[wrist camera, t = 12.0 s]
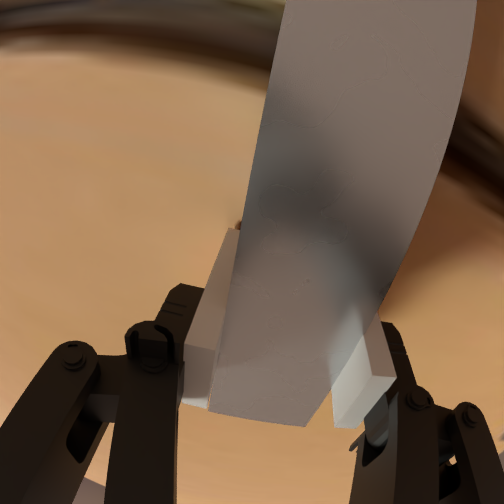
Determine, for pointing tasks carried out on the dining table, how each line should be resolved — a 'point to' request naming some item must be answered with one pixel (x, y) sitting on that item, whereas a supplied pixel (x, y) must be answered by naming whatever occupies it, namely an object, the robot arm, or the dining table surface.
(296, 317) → the grey bar
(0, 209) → the dining table surface
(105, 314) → the dining table surface
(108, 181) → the dining table surface
